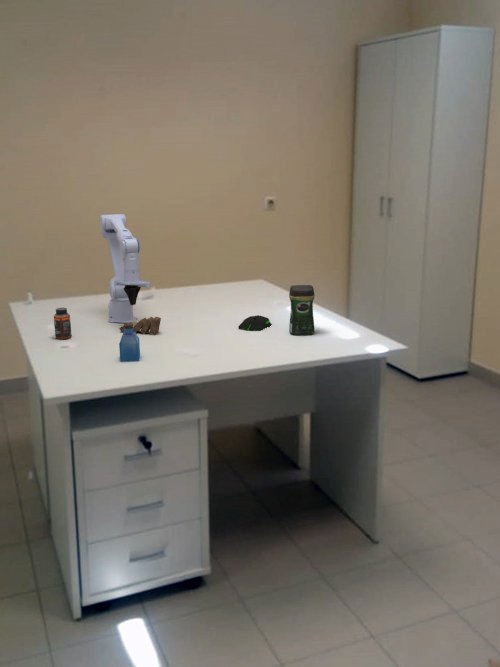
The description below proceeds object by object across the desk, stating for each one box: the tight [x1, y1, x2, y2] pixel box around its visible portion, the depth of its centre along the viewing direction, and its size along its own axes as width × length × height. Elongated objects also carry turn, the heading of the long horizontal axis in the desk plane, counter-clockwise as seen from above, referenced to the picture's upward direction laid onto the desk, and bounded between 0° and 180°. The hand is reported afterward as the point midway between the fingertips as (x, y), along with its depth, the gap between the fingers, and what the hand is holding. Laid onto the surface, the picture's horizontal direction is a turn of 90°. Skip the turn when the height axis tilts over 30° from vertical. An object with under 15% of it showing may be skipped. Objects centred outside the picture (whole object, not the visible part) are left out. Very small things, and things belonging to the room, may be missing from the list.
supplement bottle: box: [53, 307, 72, 341], centre depth 267 cm, size 6×6×11 cm
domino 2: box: [139, 316, 154, 335], centre depth 273 cm, size 2×4×6 cm
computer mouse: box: [238, 314, 273, 332], centre depth 283 cm, size 11×16×4 cm
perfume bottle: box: [118, 323, 141, 363], centre depth 241 cm, size 6×6×12 cm
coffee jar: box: [288, 284, 316, 336], centre depth 270 cm, size 10×8×19 cm
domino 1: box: [133, 317, 148, 333], centre depth 274 cm, size 2×4×6 cm
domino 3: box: [148, 316, 162, 336], centre depth 272 cm, size 2×4×6 cm, turn 163°
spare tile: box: [119, 319, 139, 333], centre depth 276 cm, size 2×4×6 cm
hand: (133, 304), depth 278 cm, fingers closed
